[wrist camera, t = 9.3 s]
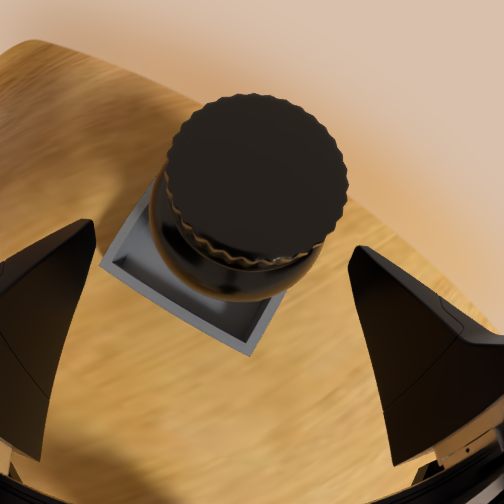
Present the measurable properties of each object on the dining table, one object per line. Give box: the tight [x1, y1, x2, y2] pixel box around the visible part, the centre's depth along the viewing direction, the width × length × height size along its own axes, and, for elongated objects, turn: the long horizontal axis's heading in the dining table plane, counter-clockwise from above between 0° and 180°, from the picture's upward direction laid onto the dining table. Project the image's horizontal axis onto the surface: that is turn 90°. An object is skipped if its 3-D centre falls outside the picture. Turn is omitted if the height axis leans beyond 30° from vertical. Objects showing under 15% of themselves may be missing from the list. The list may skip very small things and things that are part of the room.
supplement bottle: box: [149, 93, 349, 303], centre depth 13 cm, size 7×7×12 cm
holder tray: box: [99, 174, 287, 357], centre depth 18 cm, size 10×10×2 cm
